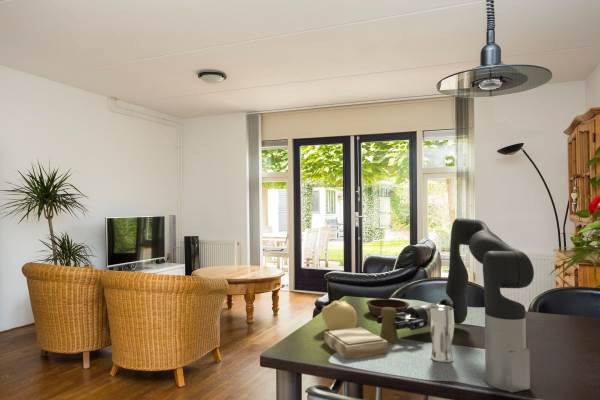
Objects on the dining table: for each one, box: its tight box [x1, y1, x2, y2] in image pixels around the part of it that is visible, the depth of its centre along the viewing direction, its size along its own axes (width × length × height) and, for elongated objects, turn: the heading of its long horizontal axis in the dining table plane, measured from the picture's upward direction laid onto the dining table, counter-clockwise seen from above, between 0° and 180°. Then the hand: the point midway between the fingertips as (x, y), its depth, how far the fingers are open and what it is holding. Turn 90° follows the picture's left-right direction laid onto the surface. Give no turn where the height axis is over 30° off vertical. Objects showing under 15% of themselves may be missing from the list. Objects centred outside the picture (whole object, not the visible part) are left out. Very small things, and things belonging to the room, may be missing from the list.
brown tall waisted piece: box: [379, 307, 399, 344], centre depth 140 cm, size 6×6×11 cm
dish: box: [365, 298, 410, 318], centre depth 175 cm, size 18×22×5 cm
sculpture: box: [321, 300, 358, 331], centre depth 151 cm, size 12×12×11 cm
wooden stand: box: [323, 326, 389, 360], centre depth 133 cm, size 16×14×4 cm
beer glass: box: [429, 305, 455, 363], centre depth 123 cm, size 7×7×15 cm
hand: (386, 323), depth 140 cm, fingers open, 8 cm apart
